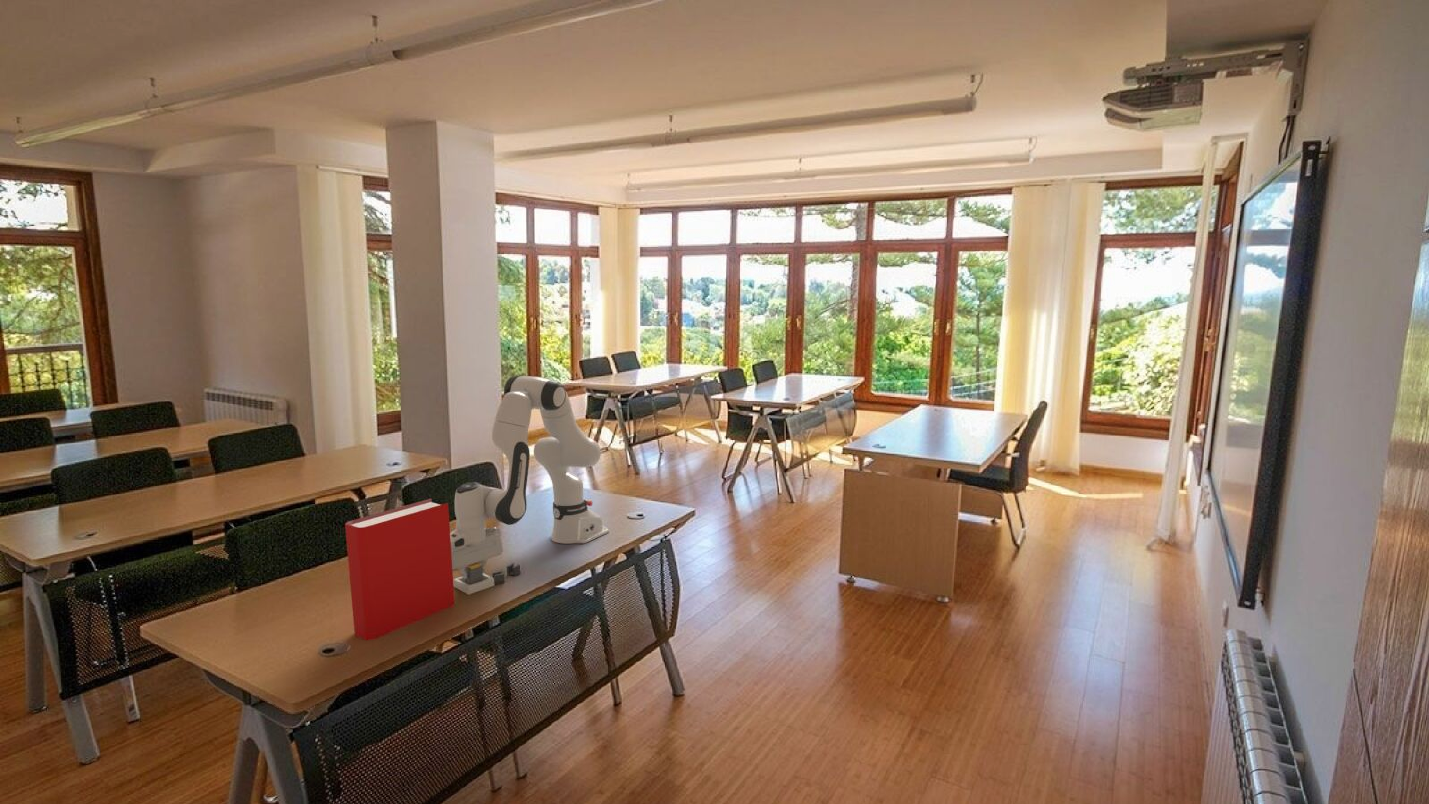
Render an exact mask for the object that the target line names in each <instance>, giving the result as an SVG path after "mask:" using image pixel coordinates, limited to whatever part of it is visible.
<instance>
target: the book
mask: <svg viewBox="0 0 1429 804" xmlns="http://www.w3.org/2000/svg"><path fill="white" fill-rule="evenodd" d="M449 510H450V509H449V502H446V503H443V504H439V503H436V502H433V501H432V498H428V499H424V500H421V501H418V502H414V503H410V504H407V505H402V506H399V507H396V508H393V509H388V510H384V511H382V512H378V513H373V514H370V515H367V516H363V517H360V518H355V519H352V520H349V521H346V523H345V524H344V527H345V528H344V529H345V539H346V549H347V562H348V573H349V582H350V594H351V595H350V596H351V607H352V608H351V609H352V619H353V620H352V621H353V630H354V636H356V637H358V638H360V639H362V640H364V641H374V640H376V639H379V638H381V637H382V636H383V637H384V636H386V635H388V634H390V633H392V632H395V631H396V630H397V631H398V630H399V629H402V628H404V627H406V626H409V625H411V624H414V623H416V622H418V621H420V620H422V619H425V618H427V617H430V616H432V615H434V614H436V613H439V612H441V611H444V610H447V609H448V608H450V607H453V606H456V605H455V593H454V592H455V590H454V588H455V587H454V581H453V579H454V575H453V574H454V573H453V571H454V570H452V555H451V539H450V533H451V529H450V528H451V527H450V512H449ZM401 627H402V628H401ZM380 636H381V637H380ZM378 637H379V638H378Z"/></svg>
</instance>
